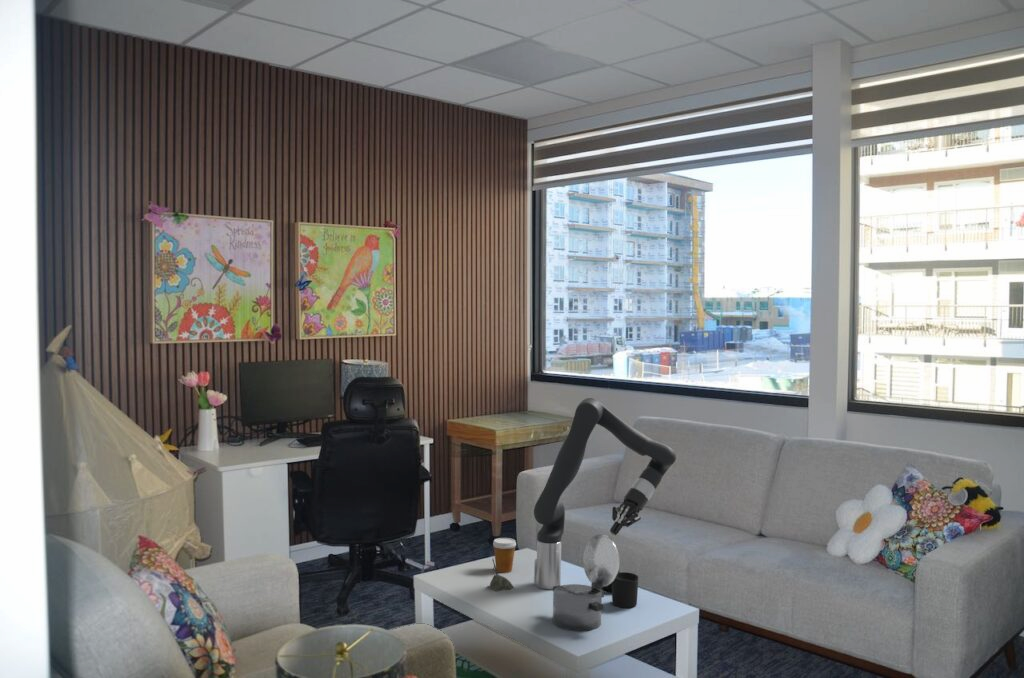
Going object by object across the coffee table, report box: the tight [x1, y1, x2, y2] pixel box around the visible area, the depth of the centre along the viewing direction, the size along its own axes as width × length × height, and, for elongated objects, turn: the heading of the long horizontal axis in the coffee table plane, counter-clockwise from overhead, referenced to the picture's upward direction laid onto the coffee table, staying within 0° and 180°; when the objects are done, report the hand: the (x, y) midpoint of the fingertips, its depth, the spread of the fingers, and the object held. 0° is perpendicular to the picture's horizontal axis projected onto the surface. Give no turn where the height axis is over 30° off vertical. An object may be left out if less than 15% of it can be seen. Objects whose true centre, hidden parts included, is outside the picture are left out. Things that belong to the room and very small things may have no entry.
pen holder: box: [611, 571, 639, 609], centre depth 279 cm, size 9×9×10 cm
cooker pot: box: [552, 583, 605, 632], centre depth 261 cm, size 17×23×10 cm
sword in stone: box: [486, 558, 515, 592], centre depth 295 cm, size 10×8×12 cm
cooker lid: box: [582, 534, 621, 589], centre depth 267 cm, size 18×17×3 cm
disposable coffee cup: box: [492, 537, 517, 574], centre depth 317 cm, size 10×10×12 cm
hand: (612, 533), depth 269 cm, fingers closed
